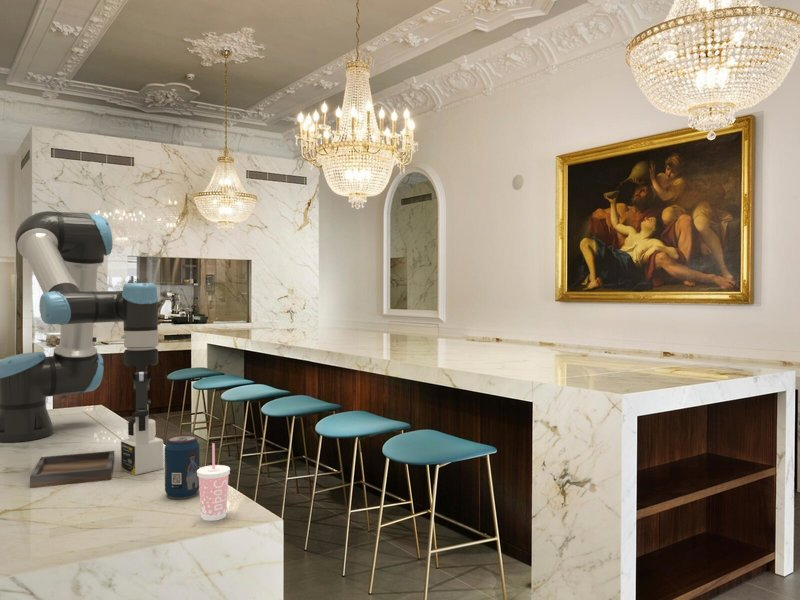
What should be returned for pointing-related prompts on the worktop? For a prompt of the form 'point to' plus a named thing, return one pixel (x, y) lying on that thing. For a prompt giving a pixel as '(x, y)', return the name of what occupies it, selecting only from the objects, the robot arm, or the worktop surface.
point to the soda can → (182, 466)
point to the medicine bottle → (141, 451)
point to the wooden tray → (73, 469)
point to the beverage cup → (213, 489)
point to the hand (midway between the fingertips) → (142, 438)
